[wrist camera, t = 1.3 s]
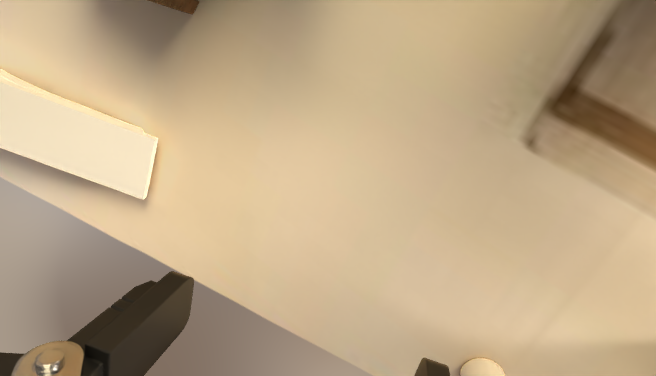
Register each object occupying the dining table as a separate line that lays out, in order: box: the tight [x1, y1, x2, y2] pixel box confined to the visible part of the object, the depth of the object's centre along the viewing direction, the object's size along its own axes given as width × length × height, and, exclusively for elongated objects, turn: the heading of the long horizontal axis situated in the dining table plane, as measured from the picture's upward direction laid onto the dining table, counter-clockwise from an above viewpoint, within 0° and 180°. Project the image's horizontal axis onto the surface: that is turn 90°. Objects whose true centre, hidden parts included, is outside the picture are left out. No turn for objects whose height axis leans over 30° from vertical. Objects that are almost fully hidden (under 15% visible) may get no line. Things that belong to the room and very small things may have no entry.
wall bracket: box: [0, 69, 159, 199], centre depth 45 cm, size 10×7×28 cm
